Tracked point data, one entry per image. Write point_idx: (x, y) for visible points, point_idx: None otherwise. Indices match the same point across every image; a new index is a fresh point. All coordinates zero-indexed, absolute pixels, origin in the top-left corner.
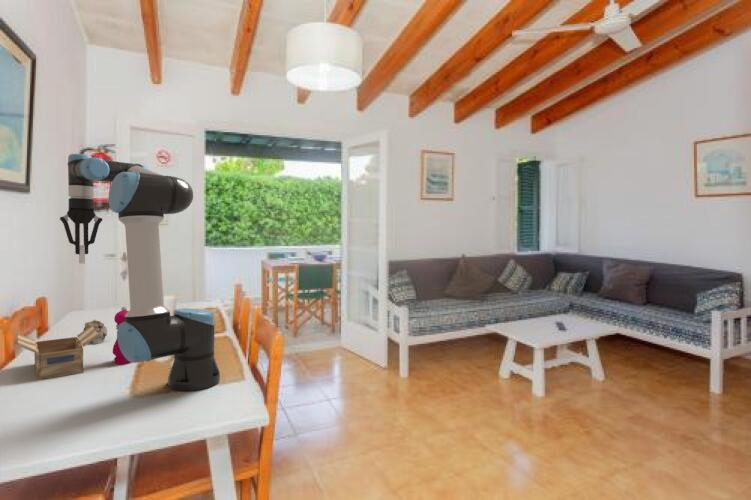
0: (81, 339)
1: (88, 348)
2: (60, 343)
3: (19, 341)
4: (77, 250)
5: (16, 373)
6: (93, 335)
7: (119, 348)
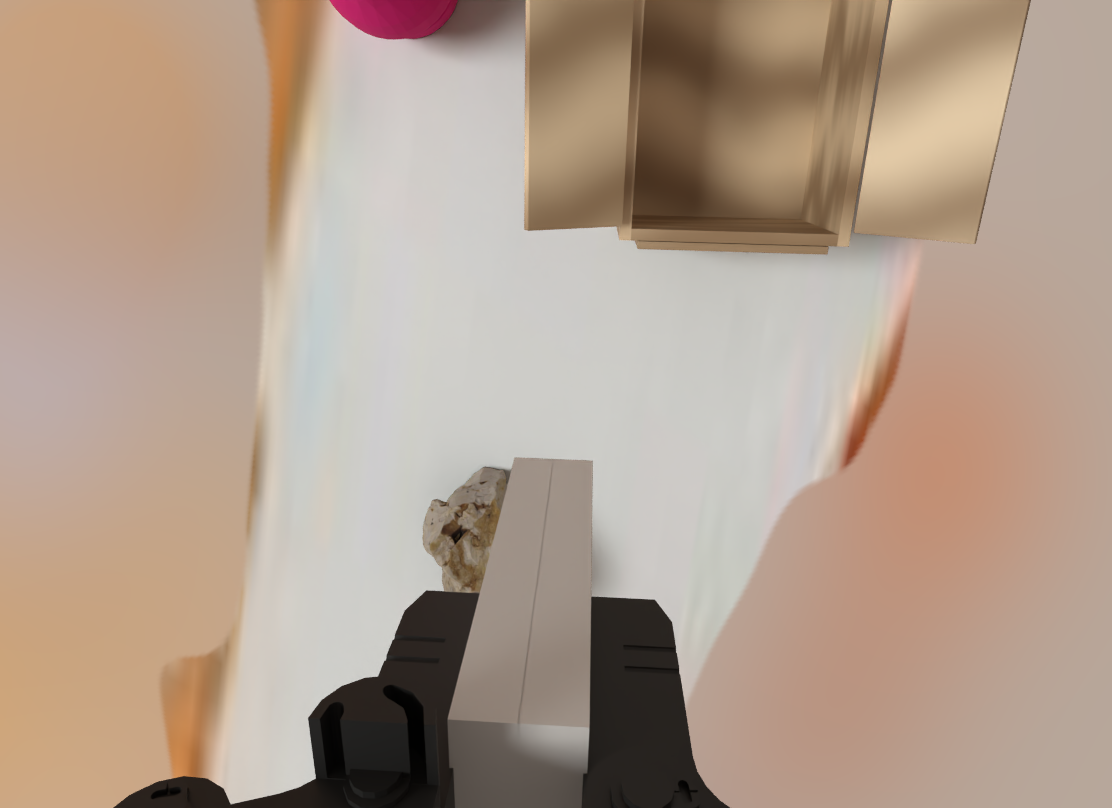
0: (621, 41)
1: (536, 403)
2: (707, 227)
3: None
4: (638, 660)
5: None
6: None
7: None
